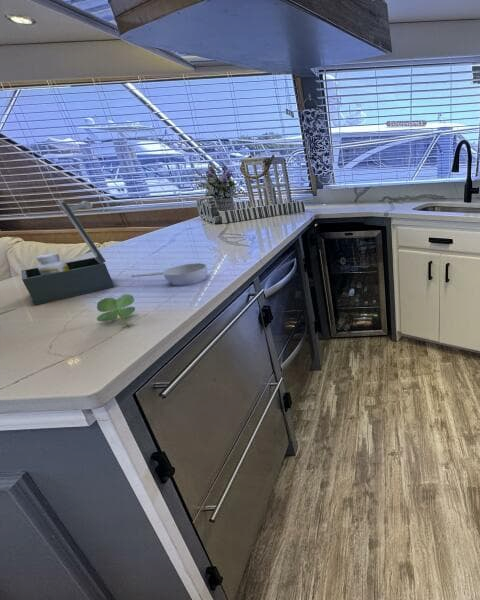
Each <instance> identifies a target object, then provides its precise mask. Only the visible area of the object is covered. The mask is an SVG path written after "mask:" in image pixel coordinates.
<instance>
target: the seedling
mask: <svg viewBox="0 0 480 600" xmlns="http://www.w3.org/2000/svg"><path fill="white" fill-rule="evenodd" d="M133 303H135V297H134V296H133V295H132V294H129V293H125V294H122V295H121V296H120V297H118V298H117V299H116V298H115V297H105V298H103V299H101V300H99V301H98V302H97V303H96V309H97V311H99V312H101V314H100V315H98V316H97V317H96V320H97V322H110V321H115V320H117V319H118V317H119V318H121V320H122V322H123V323H125V325H126V326H127V327H130V324H129V323H128V322H126V321H125V319H124V318H127V317H129V316H131V315H132V314H133V313H134V312H135V311H136V307H135V306H131V305H132V304H133Z"/></svg>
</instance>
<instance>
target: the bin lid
mask: <svg viewBox="0 0 480 600" xmlns="http://www.w3.org/2000/svg"><path fill="white" fill-rule="evenodd" d="M56 202H57V204H58V205H59V206H60V208H61V210H62V211H63V212H64V213H65V215H66V217H68V219H69V221H70V222H71V223H72V225H73V227H74V228H75V230H76V231H77V232H78V233H79V235H80V236H81V238H82V240H83V241H84V242H85V244H86V245H87V246H88V248H89V250H90V251H91V252H92V254H93V256H94V257H97V258H98V259H99V260H100V261H101V262H102V263H106V262H107V260H106V259H105V258H104V256H103V255H102V254H101V252H100V251H99V249H98V247H97V246H96V245H95V243H94V241H93V240H92V239H91V237H90V235H88V233H87V231H86V230H85V228H84V227H83V226H82V224H81V222H80V221H79V220H78V218H77V216H76V215H75V214H74V213H73V211H75V210H80V209H84V208H85V209H88V210H90V209H92V208H93V206H94V205H93V203H92V202H90V201H88V200H82V201H81V202H80V203H79V204H75V205H70V206H69V204H68V203H67V202H66V201H64V200H62V199H58V200H56Z"/></svg>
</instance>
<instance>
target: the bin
mask: <svg viewBox="0 0 480 600" xmlns="http://www.w3.org/2000/svg"><path fill="white" fill-rule="evenodd" d="M65 263H66V264H67V266H68V268H69V270H67V271H62V272H56V273H51V274H46V275H41V273H40V272H39V269H38V267H33V268H27V269H21V271H20V273H21V281H22V282H23V284H24V286H25V288H26V289H27V291H28V294H29V295H30V297H31V299H32V302H34V304H35V306H38V305H42V304H47V303H51V302H56V301H59V300H63V299H68V298H73V297H77V296H82V295H85V294H90V293H94V292H99V291H102V290H106V289H111V288H115V285H114V284H115V283H114V281H113V280H112V277H111V275H110V272H109V270H108V268H107V265H106V262H103V263H102V262H101V261H100V260H99V259H98V258H97V257H96V256H94V257H89V258H84V259H77V260H71V261H67V262H65Z"/></svg>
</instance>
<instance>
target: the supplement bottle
mask: <svg viewBox="0 0 480 600" xmlns="http://www.w3.org/2000/svg"><path fill="white" fill-rule="evenodd" d="M36 259H37V262H38V263H40V264H39V265H38V266H37V268H38V269H39V272H40V273H41V275H46V274H51V273H56V272H62V271H67V270H69V268H68V266H67V264H66V262H65V261H63V260H60V259H61V258H60V255H59V253H57V252H54V253H53V252H52V253H46V254H41V255H38V256H36Z"/></svg>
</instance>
